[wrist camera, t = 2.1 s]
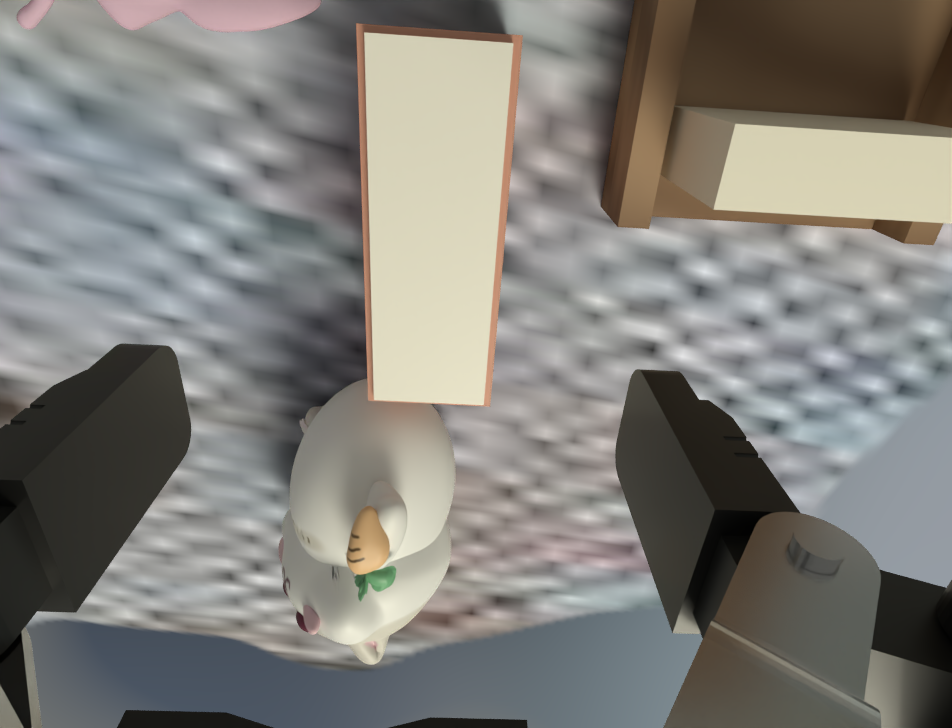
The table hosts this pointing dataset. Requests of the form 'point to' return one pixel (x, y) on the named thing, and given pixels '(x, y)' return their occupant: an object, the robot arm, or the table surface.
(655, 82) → the book rack
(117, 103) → the table surface
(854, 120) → the bookend
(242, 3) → the rabbit figure
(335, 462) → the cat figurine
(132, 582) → the table surface
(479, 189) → the book
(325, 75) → the table surface
